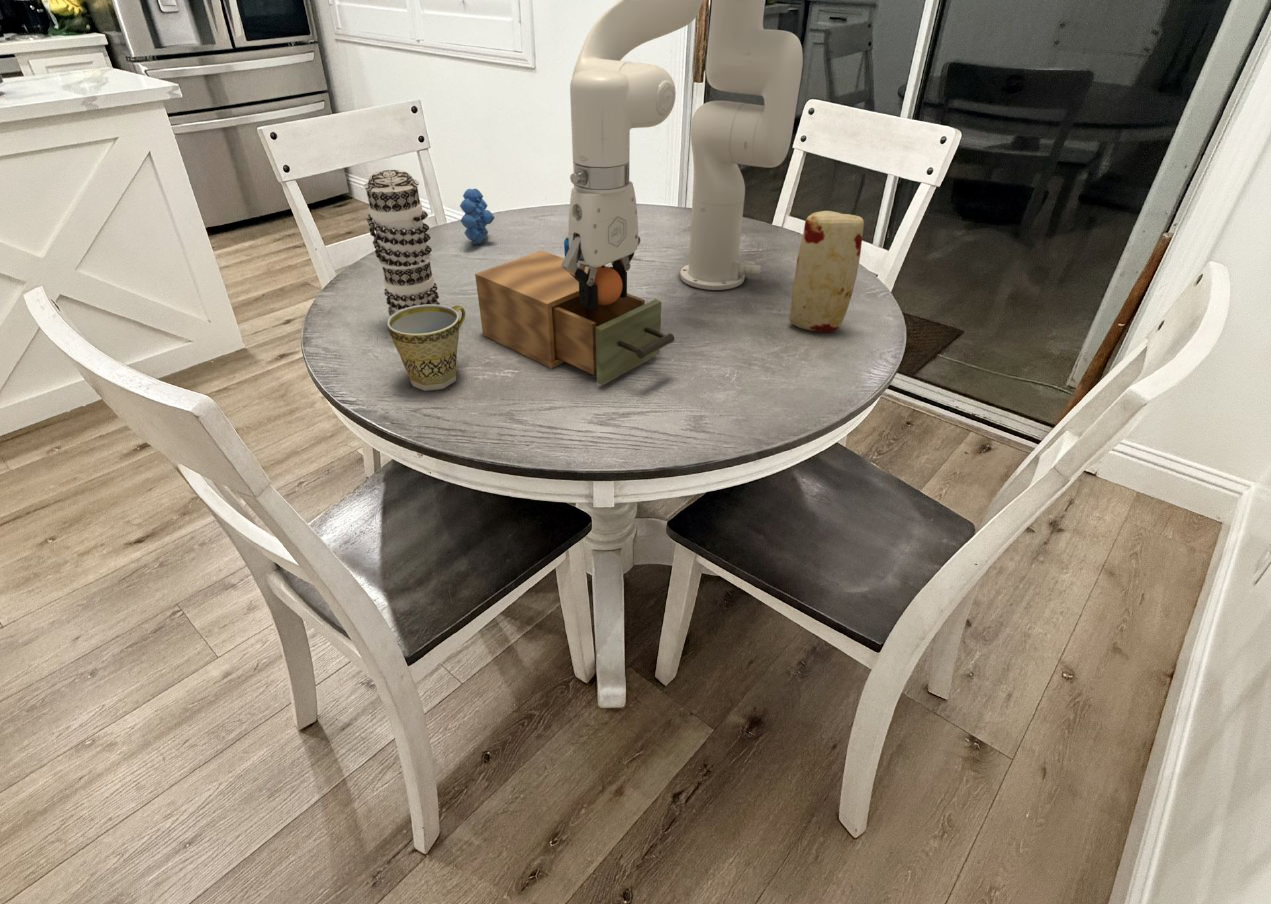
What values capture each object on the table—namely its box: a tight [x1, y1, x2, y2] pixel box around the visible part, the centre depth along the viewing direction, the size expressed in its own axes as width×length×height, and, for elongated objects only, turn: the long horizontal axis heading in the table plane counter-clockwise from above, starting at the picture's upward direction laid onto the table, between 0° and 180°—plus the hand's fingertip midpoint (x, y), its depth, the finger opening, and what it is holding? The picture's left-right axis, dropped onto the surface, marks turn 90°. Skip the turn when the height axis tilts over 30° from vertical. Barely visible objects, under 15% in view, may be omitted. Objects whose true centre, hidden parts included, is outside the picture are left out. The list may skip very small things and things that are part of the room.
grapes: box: [459, 188, 496, 245], centre depth 149 cm, size 12×7×12 cm, turn 173°
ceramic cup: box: [386, 304, 466, 392], centre depth 104 cm, size 13×10×10 cm
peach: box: [594, 265, 623, 305], centre depth 103 cm, size 6×6×6 cm
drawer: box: [552, 292, 676, 386], centre depth 107 cm, size 21×13×9 cm, turn 49°
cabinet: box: [474, 250, 589, 369], centre depth 115 cm, size 17×14×11 cm
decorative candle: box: [363, 169, 441, 317], centre depth 113 cm, size 9×9×25 cm
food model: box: [788, 210, 865, 334], centre depth 115 cm, size 10×7×20 cm
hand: (603, 300), depth 105 cm, fingers closed on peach, 5 cm apart
